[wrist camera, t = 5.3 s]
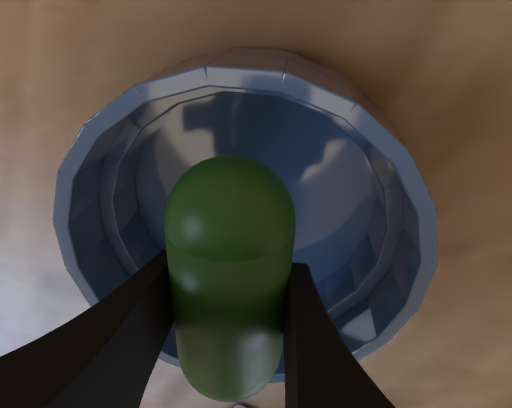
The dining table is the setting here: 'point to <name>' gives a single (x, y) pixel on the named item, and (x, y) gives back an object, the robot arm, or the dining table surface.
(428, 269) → the bowl
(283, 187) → the zucchini
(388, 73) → the dining table surface
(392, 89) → the dining table surface
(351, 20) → the dining table surface
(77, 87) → the dining table surface
